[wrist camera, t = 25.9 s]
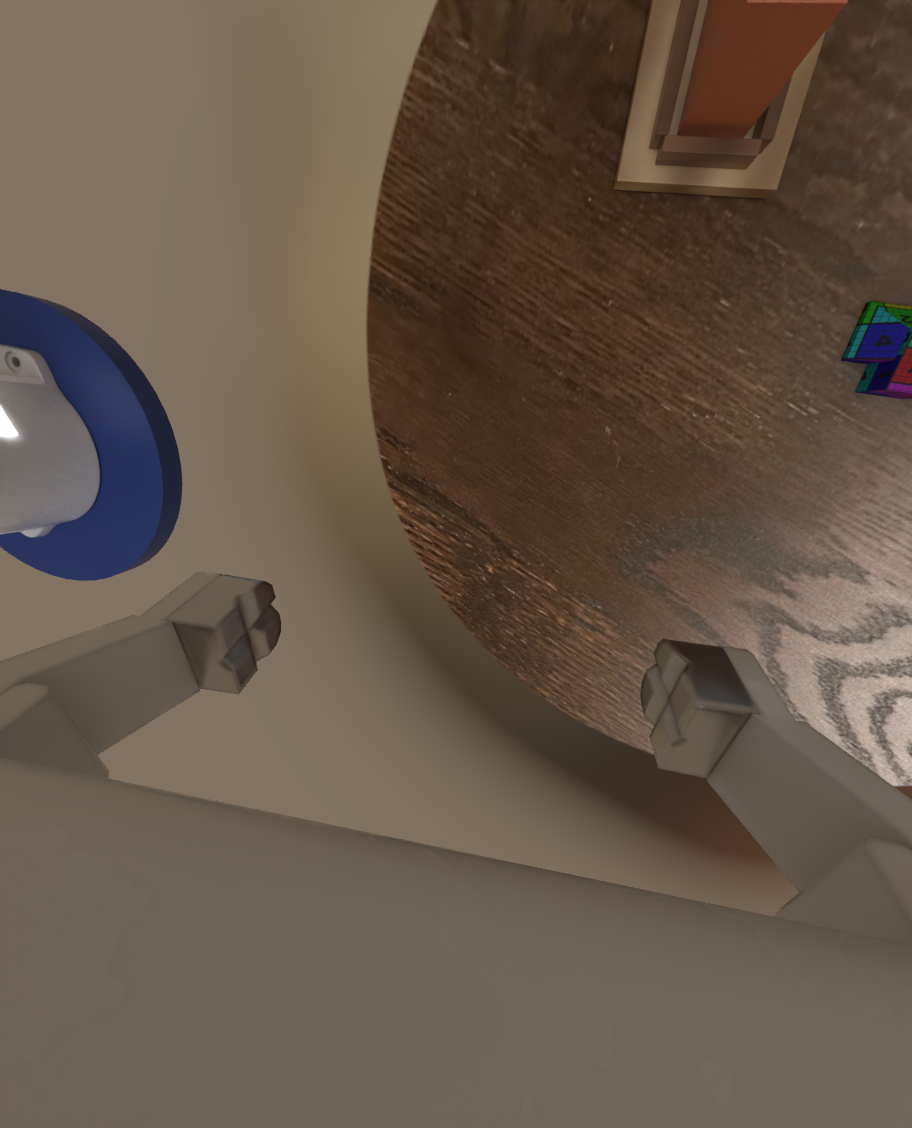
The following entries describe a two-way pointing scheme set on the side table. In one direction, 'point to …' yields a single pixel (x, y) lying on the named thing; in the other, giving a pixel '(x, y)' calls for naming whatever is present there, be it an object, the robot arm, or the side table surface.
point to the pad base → (692, 160)
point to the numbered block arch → (883, 350)
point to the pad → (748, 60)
